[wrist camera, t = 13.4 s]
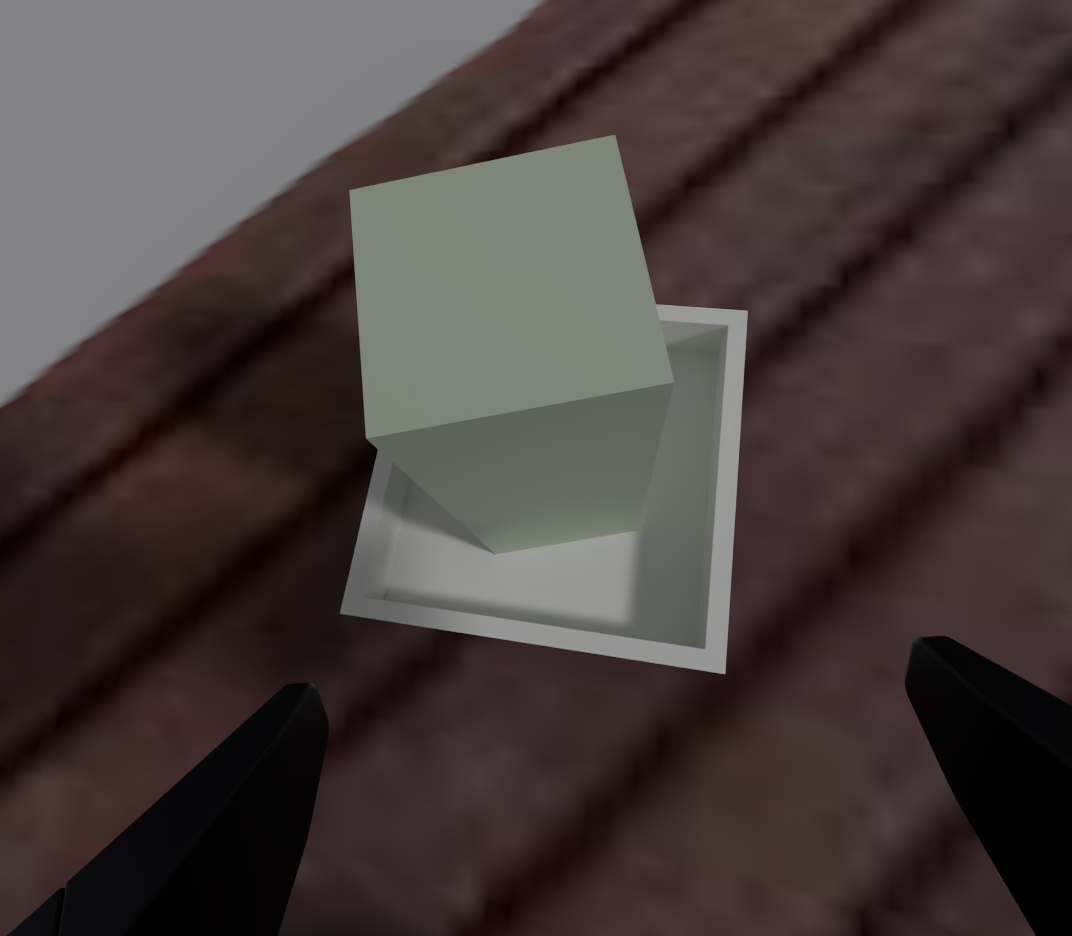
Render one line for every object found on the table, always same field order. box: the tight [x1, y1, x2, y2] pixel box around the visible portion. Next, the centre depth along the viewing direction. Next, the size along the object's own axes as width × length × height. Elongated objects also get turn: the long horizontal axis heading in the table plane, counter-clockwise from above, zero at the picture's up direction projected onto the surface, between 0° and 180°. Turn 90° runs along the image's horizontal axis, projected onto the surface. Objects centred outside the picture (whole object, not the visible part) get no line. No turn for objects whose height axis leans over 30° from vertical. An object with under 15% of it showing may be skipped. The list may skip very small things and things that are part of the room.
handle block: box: [350, 135, 674, 554], centre depth 16 cm, size 5×5×12 cm
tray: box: [340, 305, 748, 674], centre depth 21 cm, size 12×12×3 cm
